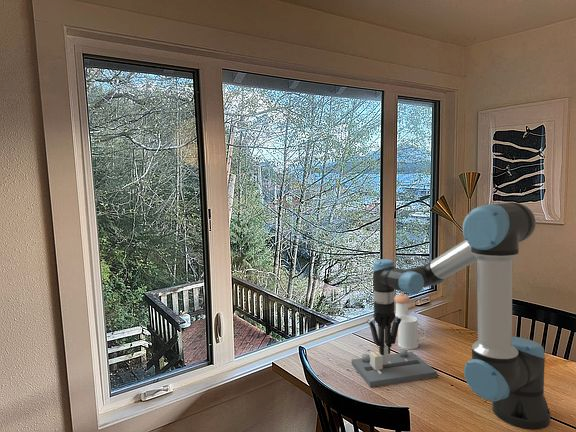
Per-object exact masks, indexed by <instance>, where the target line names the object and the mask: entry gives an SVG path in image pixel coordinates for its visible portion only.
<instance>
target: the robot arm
mask: <svg viewBox="0 0 576 432" xmlns="http://www.w3.org/2000/svg"><path fill="white" fill-rule="evenodd" d="M536 221H537V220H536V217H535V215H534V213H533V211H532V209H530V208H529V207H528V206H526V205H524V204H522V203H520V202H504V203H502V202H501V203H489V204H488V203H487V204H484V205H480V206H477V207H475V208H473V209H471V211H469V212H468V214H467V215H465V217H464V220H463V223H462V234H463V235H462V236H463V238H464V240H463V241H461V242H459V243H458V244H455V246H453V247H451V248H449V250H447V251H445V252H443V253H442V254H441V255H439V256H437V257H436V258H434V259H432V260H431V261H429V262H427V263H426V264H424V265H421V266H415V267H410V268H406V269H405V268H404V269H401V268H398V267H395V263H394V261H393V260H392V259H386V258H384V259H383V258H382V259H376V260H374V261H373V265H372V275H373V277H372V278H373V280H372V283H373V315H372V318H371V319H368V320H367V321H366V322H367V324H368V325H369V329H370V331H371V336H372V340H373V342H374V344H375V345H376V346H377V347H378V349H379V350H378V352H379V353H380V354H381V355H382V358H383V363H384V364H388V355H390V354H391V348H392V345H394V344H396V340H397V337H398V335H397V332H398V327H399V324H400V322H401V319H400V318H399V317H396V316H395V314H396V304H395V300H394V298H395V291H400V292H401V293H406V294H409V295H410V294H411V295H417V294H419V293H420V292H421V291H422V290H423V288H425V287H426V288H427V287H430V286H436V285H439V284H442V283H443V282H444V281H445V280H446V278H449V277H450V276H452V275H454V274H456V273H457V272H459V271H461V270H463V269H465V268H467V267H468V266H471V265H472V264H474V263H477V265H476V267H477V268H476V270H477V271H476V276H477V277H476V280H477V281H476V282H477V283H476V284H477V285H476V287H477V288H476V289H477V290H476V291H477V294H476V295H477V340H476V341H475V342H474V343H473V344H472V345H471V359H469V360H468V361H467V362H466V363H465V365H464V367H463V375H464V379H465V382H466V383H467V385H468V387H469V388H470V389H472V392H473V393H474V394H475V395H477V396H478V397H479V398H480V399H481V398H482V399H483V400H485V401H488V402H492V412H493V413H494V414H495V416H497V418H499V419H500V420H502V421H504V422H505V423H508V424H510V425H512V426H515V427H519V428H523V429H529V430H530V429H531V430H539V429H544V428H547V427H548V426H549V425H550V423H551V411H550V409H549V405H548V403H547V400H546V397H545V393H544V392H545V391H544V390H545V388H544V387H545V362H546V360H545V359H546V357H545V349H544V346H543V345H541V344H540V342H539V343H538V342H537V341H534V340H532V339H528V338H525V337H519V336H513V260H514V259H515V258H516V257H517V256H518V255H519V249H520V248H519V245H520V244H519V243H521V242H524V241H526V240H527V239H529V238H530V237H531V236H532V235H533V233H534V231H535V230H536V225H537V222H536ZM376 324H377V327H378V329H377V328H376ZM377 330H378V331H377Z"/></svg>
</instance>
